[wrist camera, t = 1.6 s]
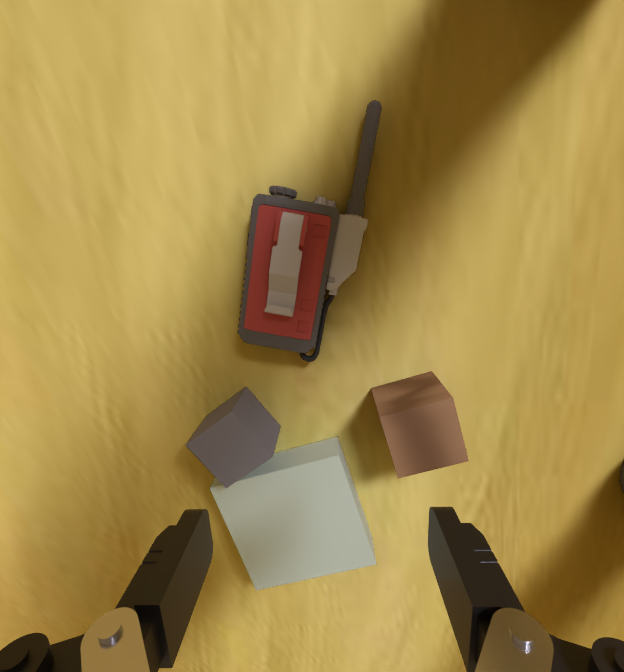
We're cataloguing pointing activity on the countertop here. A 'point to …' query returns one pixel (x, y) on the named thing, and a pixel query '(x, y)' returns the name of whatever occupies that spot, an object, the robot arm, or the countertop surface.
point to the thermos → (622, 477)
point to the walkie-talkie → (302, 258)
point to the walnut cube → (420, 424)
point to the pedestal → (297, 516)
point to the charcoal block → (235, 438)
